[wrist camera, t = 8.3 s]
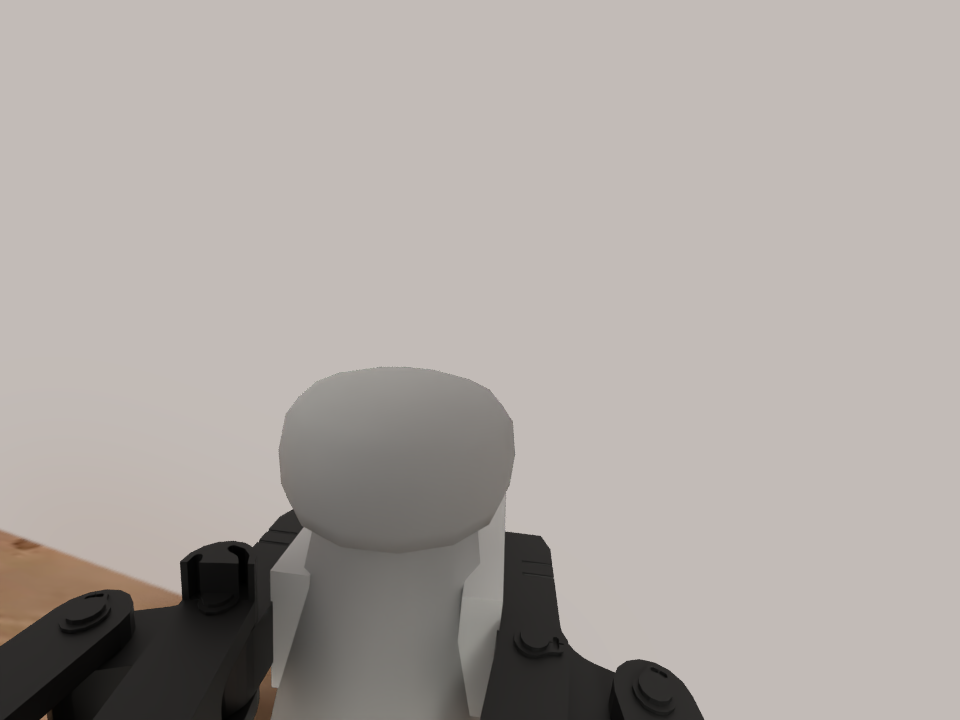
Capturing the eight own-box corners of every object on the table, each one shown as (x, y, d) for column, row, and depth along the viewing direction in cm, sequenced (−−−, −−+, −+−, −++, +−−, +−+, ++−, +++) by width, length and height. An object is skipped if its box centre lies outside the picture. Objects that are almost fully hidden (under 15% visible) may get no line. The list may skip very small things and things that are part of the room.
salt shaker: (231, 825, 12) (212, 351, 9) (422, 717, 15) (453, 342, 12) (278, 1195, 8) (272, 483, 5) (537, 928, 11) (629, 414, 8)
